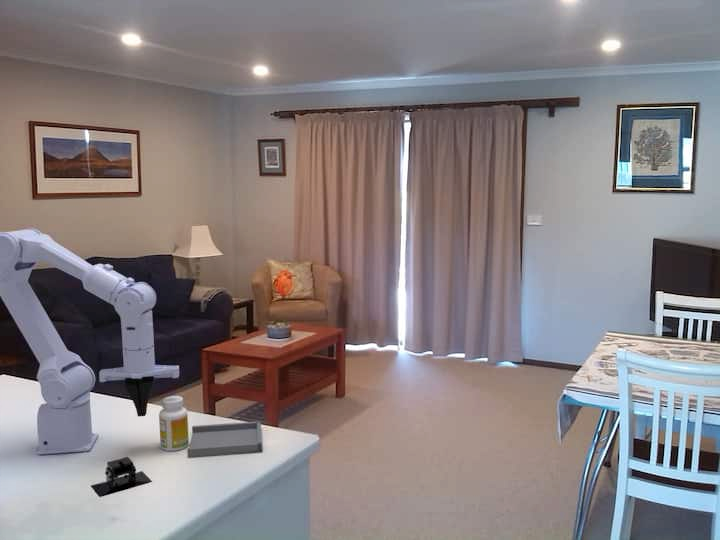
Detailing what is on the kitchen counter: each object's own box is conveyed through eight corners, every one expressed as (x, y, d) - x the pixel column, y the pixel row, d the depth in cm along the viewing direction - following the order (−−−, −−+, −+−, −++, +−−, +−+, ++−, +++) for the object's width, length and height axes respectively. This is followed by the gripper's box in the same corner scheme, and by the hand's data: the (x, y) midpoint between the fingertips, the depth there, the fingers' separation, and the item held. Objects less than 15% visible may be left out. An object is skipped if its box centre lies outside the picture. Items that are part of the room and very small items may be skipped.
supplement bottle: (192, 441, 133) (190, 394, 131) (183, 452, 127) (180, 404, 126) (166, 440, 133) (164, 394, 132) (156, 451, 128) (153, 403, 126)
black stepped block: (90, 505, 108) (88, 479, 107) (78, 489, 114) (76, 464, 113) (163, 483, 116) (162, 459, 115) (149, 469, 121) (147, 445, 121)
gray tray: (187, 457, 125) (187, 449, 125) (192, 433, 137) (192, 425, 136) (262, 451, 127) (261, 444, 127) (260, 428, 139) (260, 421, 139)
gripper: (94, 354, 121) (98, 424, 123) (175, 350, 124) (178, 419, 126) (102, 344, 128) (106, 411, 130) (178, 341, 130) (181, 406, 132)
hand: (142, 414), depth 128 cm, fingers closed
